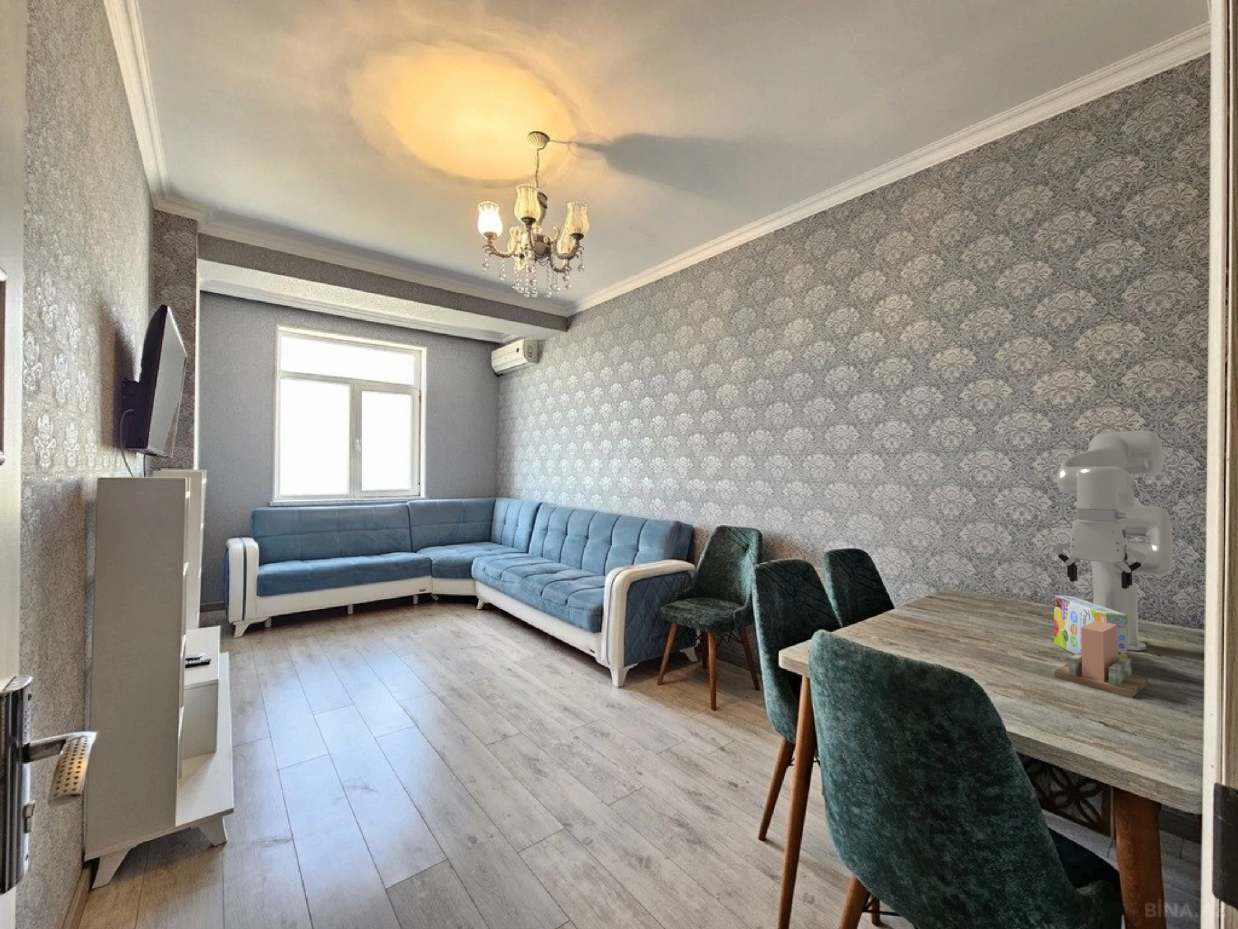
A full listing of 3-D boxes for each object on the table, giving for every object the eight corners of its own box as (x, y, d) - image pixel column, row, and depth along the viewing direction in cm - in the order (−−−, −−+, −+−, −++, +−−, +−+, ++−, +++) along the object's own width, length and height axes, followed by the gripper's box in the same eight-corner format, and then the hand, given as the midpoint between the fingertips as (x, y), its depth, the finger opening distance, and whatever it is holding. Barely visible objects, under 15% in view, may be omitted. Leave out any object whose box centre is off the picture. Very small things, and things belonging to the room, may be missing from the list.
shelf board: (1073, 665, 134) (1073, 645, 134) (1148, 684, 122) (1147, 661, 122) (1054, 677, 126) (1054, 655, 126) (1131, 697, 114) (1131, 673, 115)
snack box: (1130, 672, 129) (1129, 614, 130) (1105, 670, 130) (1104, 613, 131) (1073, 645, 150) (1072, 595, 150) (1052, 643, 151) (1051, 594, 152)
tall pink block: (1096, 667, 129) (1095, 620, 129) (1117, 672, 126) (1116, 624, 126) (1082, 676, 123) (1081, 627, 123) (1103, 682, 120) (1103, 632, 120)
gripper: (1150, 518, 120) (1152, 589, 119) (1058, 513, 134) (1059, 576, 134) (1142, 519, 116) (1143, 593, 115) (1048, 514, 130) (1049, 580, 130)
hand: (1098, 584), depth 125 cm, fingers open, 9 cm apart
